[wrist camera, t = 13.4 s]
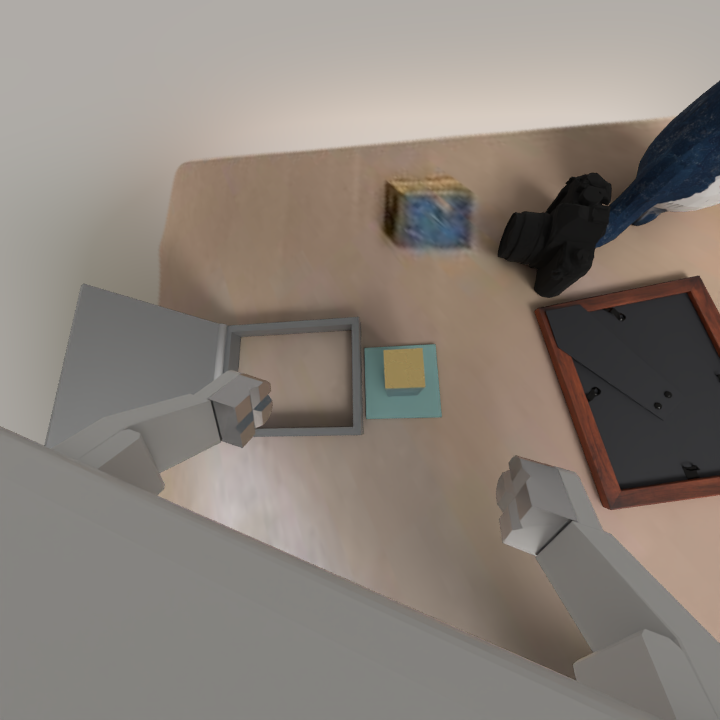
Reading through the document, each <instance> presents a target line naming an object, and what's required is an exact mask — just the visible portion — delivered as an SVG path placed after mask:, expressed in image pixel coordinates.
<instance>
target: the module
mask: <svg viewBox="0 0 720 720" xmlns="http://www.w3.org/2000/svg"><path fill="white" fill-rule="evenodd" d="M383 352H384V374H385V390H386V393H387V396H388V397H391V396H417V395H418V394H419V393H420V392H421V391H422V390H423V389H424V388H425V387H426V386H425V373H424V361H423V348H412V349H394V350H383Z"/></svg>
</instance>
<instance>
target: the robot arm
mask: <svg viewBox="0 0 720 720" xmlns="http://www.w3.org/2000/svg"><path fill="white" fill-rule="evenodd" d="M270 392H271V385H270V383H269V382H268V381H265V380H262V379H259V378H256V377H253V376H250V375H247V374H243V373H240V372H237V371H234V370H229V371H226V372H225V373H224V374H222V375H221V376H219V377H218V378H217V379H215V380H214V381H212V382H211V383H209V384H208V385H207V386H205V387H204V388H202V389H201V390H200V391H198V392H197V393H195V394H194V395H192V394H187V395H183V396H180V397H176V398H172V399H169V400H165V401H161V402H158V403H154V404H150V405H146V406H143V407H139V408H135V409H132V410H128V411H124V412H121V413H117V414H113V415H110V416H106V417H103V418H101V419H100V420H98V421H96V422H95V423H93V424H91V425H89V426H88V427H86V428H84V429H83V430H81V431H79V432H78V433H76V434H74V435H73V436H71V437H69V438H68V439H66V440H64V441H63V442H61V443H59V444H58V445H56V446H54V447H53V448H48V447H46V446H44V445H41V444H39V443H37V442H35V441H32V440H30V439H28V438H25V437H23V436H21V435H19V434H17V433H14V432H12V431H10V430H7V429H5V428H3V427H1V426H0V720H720V643H719V642H718V641H717V640H716V639H715V638H714V637H713V636H712V635H711V634H710V633H709V632H708V631H707V630H706V629H705V628H704V627H703V626H702V625H701V624H700V623H699V622H698V621H697V620H696V619H695V618H694V617H693V616H692V615H691V614H690V613H689V612H688V611H687V610H686V609H685V608H684V607H683V606H682V605H681V604H680V603H679V602H678V601H677V600H676V599H675V598H674V597H673V596H672V595H671V594H670V593H669V592H668V591H667V590H666V589H665V588H664V587H663V586H662V585H661V584H660V583H659V582H658V581H657V580H656V579H655V578H654V577H653V576H652V575H651V574H650V573H649V572H648V571H647V570H646V569H645V568H644V567H643V566H642V565H641V564H640V563H639V562H638V561H637V560H636V559H635V558H634V557H633V556H632V555H631V554H630V553H629V552H628V551H627V550H626V549H625V548H624V547H623V546H622V545H621V544H620V543H619V542H618V541H617V540H616V539H615V538H614V537H613V536H612V535H611V534H610V533H607V532H605V531H603V529H602V526H601V524H600V522H599V520H598V518H597V515H596V513H595V511H594V509H593V507H592V504H591V502H590V500H589V498H588V496H587V493H586V491H585V489H584V487H583V485H582V482H581V480H580V478H579V476H578V475H577V474H576V473H575V472H573V471H569V470H566V469H562V468H559V467H555V466H551V465H548V464H544V463H541V462H537V461H534V460H530V459H527V458H523V457H520V456H517V455H516V456H514V457H513V458H512V459H511V460H510V462H509V469H510V470H509V471H506V472H503V473H502V475H501V476H500V478H499V480H498V484H497V488H496V499H497V505H498V506H499V507H500V509H501V510H502V512H503V514H502V516H501V517H500V518H499V522H500V529H501V536H502V543H504V544H507V545H509V546H512V547H514V548H517V549H519V550H522V551H524V552H527V553H530V554H532V555H535V556H536V557H535V558H536V559H537V561H538V563H539V564H540V566H541V568H542V569H543V571H544V573H545V574H546V576H547V577H548V579H549V581H550V582H551V584H552V586H553V587H554V589H555V591H556V592H557V594H558V596H559V597H560V599H561V600H562V602H563V604H564V605H565V607H566V609H567V610H568V612H569V614H570V615H571V617H572V619H573V620H574V622H575V623H576V625H577V627H578V628H579V630H580V632H581V633H582V635H583V637H584V638H585V640H586V642H587V643H588V645H589V646H590V648H591V650H592V651H593V653H591V654H589V655H587V656H585V657H583V658H581V659H578V660H577V661H576V662H575V663H574V664H573V669H574V673H575V677H576V680H574V679H572V678H569V677H567V676H565V675H563V674H560V673H558V672H556V671H554V670H551V669H549V668H547V667H544V666H542V665H540V664H538V663H535V662H533V661H531V660H529V659H526V658H524V657H522V656H520V655H517V654H515V653H513V652H511V651H508V650H506V649H504V648H501V647H499V646H497V645H495V644H492V643H490V642H488V641H486V640H483V639H481V638H479V637H477V636H474V635H472V634H470V633H468V632H465V631H463V630H461V629H458V628H456V627H454V626H452V625H449V624H447V623H445V622H443V621H440V620H438V619H436V618H434V617H431V616H429V615H427V614H424V613H422V612H420V611H418V610H415V609H413V608H411V607H409V606H406V605H404V604H402V603H400V602H397V601H395V600H393V599H391V598H388V597H386V596H384V595H381V594H379V593H377V592H375V591H372V590H370V589H368V588H366V587H363V586H361V585H359V584H357V583H354V582H352V581H350V580H347V579H345V578H343V577H341V576H338V575H336V574H334V573H332V572H329V571H327V570H325V569H323V568H320V567H318V566H316V565H314V564H311V563H309V562H307V561H304V560H302V559H300V558H298V557H295V556H293V555H291V554H289V553H286V552H284V551H282V550H280V549H277V548H275V547H273V546H271V545H268V544H266V543H264V542H261V541H259V540H257V539H255V538H252V537H250V536H248V535H246V534H243V533H241V532H239V531H237V530H234V529H232V528H230V527H227V526H225V525H223V524H221V523H218V522H216V521H214V520H212V519H209V518H207V517H205V516H202V515H200V514H198V513H196V512H193V511H191V510H189V509H187V508H184V507H182V506H180V505H178V504H175V503H173V502H171V501H168V500H166V499H164V498H162V497H159V496H157V495H158V494H159V493H160V492H161V491H162V490H163V489H164V486H165V484H164V482H163V480H162V478H161V475H160V473H161V472H163V471H165V470H167V469H169V468H171V467H173V466H175V465H177V464H179V463H181V462H183V461H185V460H187V459H189V458H191V457H193V456H195V455H197V454H199V453H201V452H203V451H205V450H207V449H208V448H210V447H212V446H214V445H216V444H218V443H220V442H221V441H223V442H226V443H229V444H232V445H235V446H238V447H241V448H243V447H244V446H245V445H246V444H247V443H248V442H249V440H250V439H251V438H252V437H253V436H254V435H255V428H257V427H259V426H262V425H264V423H265V422H266V421H267V420H268V418H269V416H270V414H271V412H272V406H273V404H272V399H271V398H270V396H269V395H268V394H269V393H270Z"/></svg>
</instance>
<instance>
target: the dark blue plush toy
mask: <svg viewBox="0 0 720 720" xmlns="http://www.w3.org/2000/svg"><path fill="white" fill-rule="evenodd" d="M719 203H720V81H719V82H718V83H716V84H715V85H714V86H712V87H711V88H710V89H709V90H707V91H706V92H705V93H703V94H702V95H701V96H700V97H699V98H698V99H696V100H695V101H694V102H693V103H692V104H690V105H689V106H688V107H687V108H686V109H685V110H683V112H681V113H680V114H679V115H678V116H677V117H675V118H674V119H673V120H672V121H671V122H670V123H669V124H668V125H667V126H666V127H665V128H664V129H663V131H662V132H661V133H660V134H659V135H658V136H657V137H656V138H655V139H654V141H653V142H652V143H651V145H650V146H649V147H648V149H647V151H646V152H645V154H644V156H643V158H642V159H641V161H640V163H639V167H638V172H637V177H636V179H635V180H634V181H633V182H632V183H631V185H630V186H629V187H628V188H627V189H626V190H625V191H624V192H623V193H622V194H621V195H620V196H619V197H618V198H617V199H616V200H615V201H614V202H613V203H612V204H610V205H609V206H610V207H611V209H610V215H609V224H608V225H607V229H606V233H605V235H604V236H603V237H602V238H600V239H599V241H598V243H597V244H596V247H595V248H597V247H600V246H602V245H604V244H606V243H608V242H610V241H612V240H614V239H615V238H616V237H617V236H618V235H620V234H621V233H622V232H623V231H624V230H625V229H626V228H627V227H628V226H629V225H631V224H633V225H635V226H639V225H643V224H646V223H648V222H650V221H652V220H654V219H655V218H656V217H657V216H658V215H659V214H660V213H663V212H667V211H671V212H687V211H695V210H699V209H703V208H706V207H710V206H713V205H716V204H719Z"/></svg>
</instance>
